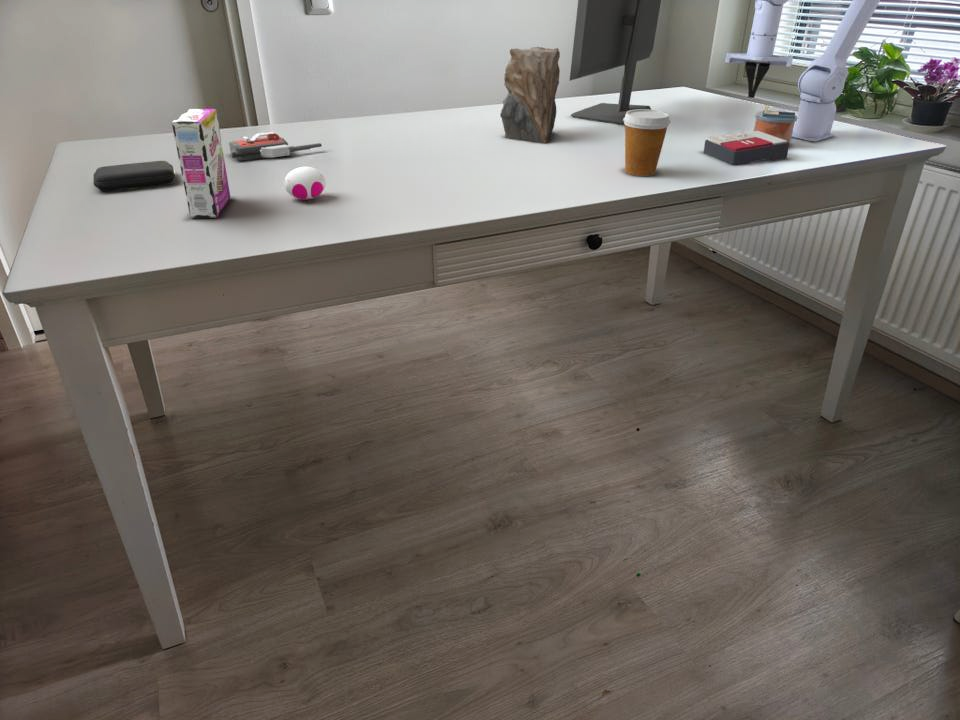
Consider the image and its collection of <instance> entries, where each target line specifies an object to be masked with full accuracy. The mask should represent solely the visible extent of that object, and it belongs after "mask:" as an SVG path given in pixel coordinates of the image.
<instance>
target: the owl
mask: <svg viewBox="0 0 960 720" xmlns="http://www.w3.org/2000/svg"><path fill="white" fill-rule="evenodd" d="M509 55H510V59H509V61H508V63H507V65H506V67H505V73H504V77H503V78H504V79H503V80H504V81H503V82H504V84H503V85H504V86H505V88H506V90H507V92H508V93H507V95H506V97H505V98H504V99H503V101H502V104H503V105H502V108H501V111H500V114H499V115H500V118H501V121H502V127H503V131H504V138H506V139H510V140H511V139H512V140H518V141H525V142H526V141H527V142H532V143H541V144H547V143H548V141H550V138H551V136H552V135H553V130H554V128H555V123H556V117H557V104H556V94H557V91H558V87H559V84H560V73H561V70H560V65H559V60H560V58H561V53H560V50H559V48H558V47H556V48H546V47H542V46H535V47H533V46H532V47H530V48H525V49H522V48H521V49H520V48H510V49H509Z"/></svg>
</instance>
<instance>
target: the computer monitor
mask: <svg viewBox="0 0 960 720" xmlns="http://www.w3.org/2000/svg"><path fill="white" fill-rule="evenodd" d="M661 4H662V0H577V8H576V18H575V26H574V37H573V45H572V53H571V63H570V71H569V72H570V74H569V82H571V81H574V80H578V79H581V78H584V77H588V76H591V75H595V74H598V73H602V72H605V71H609V70H613V69H616V68H620V67H623V66H624V71H623V76H622V79H621V84H620V90H619V97H618V103H607V102H606V103H605V102H601V103H597V104H594V105H591V106H589V107H587V108H583V109H580V110H577V111H575V112H573V113H571V114H570V115H569V116H570V117H571V118H575V119H580V120H581V119H582V120H587V121H595V122H599V123H600V122H601V123H607V124H613V125H614V124H615V125H620V126H625V124H624V120H623V118H624V117H625V115H626V112H627V111H630V110H636V109H649V110H652V108H651V106H650V105H645V104H644V105H642V104H630V103H631V98H632V97H631V96H632V93H633V92H632V91H633V87H634V86H633V85H634V79H635V75H636V68H637V62H640V61H643V60H646V59H648V58H650V57H651V55H652V53H653V50H654V44H655V38H656V33H657V28H658V21H659V15H660V10H661Z"/></svg>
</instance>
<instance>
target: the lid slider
mask: <svg viewBox="0 0 960 720" xmlns="http://www.w3.org/2000/svg"><path fill="white" fill-rule="evenodd" d="M764 110H765V112H764V113H767V114H779V112H777V111H778V110H769V104H765V107H764ZM768 110H769V111H768Z"/></svg>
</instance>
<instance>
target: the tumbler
mask: <svg viewBox="0 0 960 720" xmlns="http://www.w3.org/2000/svg"><path fill="white" fill-rule="evenodd" d="M768 111H770V110H769V109H768ZM776 111H777V112H779V114H767V113H764V112H765V109H763V110H760V111H757V112H755V116H754V117H755V121H754V126H753V131H760V132H763V133H766V134H769V135H772V136H775V137H777V138H780V139H783V140H786V141H787V142H789V143H790V144H791V142H792V138H793V137H792V133H793V131H794V127H795V123H796V121H797V115H796V112H792V111H782V110H776ZM790 144H789V146H791V145H790Z"/></svg>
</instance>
